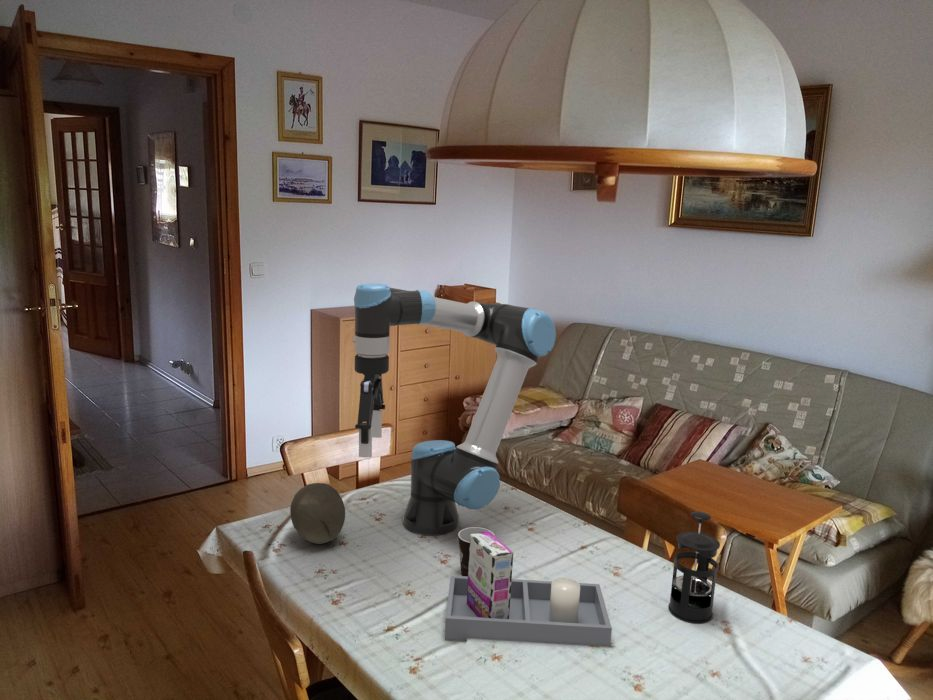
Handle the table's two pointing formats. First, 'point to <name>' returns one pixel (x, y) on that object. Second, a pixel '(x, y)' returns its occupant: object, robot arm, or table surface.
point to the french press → (694, 576)
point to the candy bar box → (489, 576)
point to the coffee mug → (467, 546)
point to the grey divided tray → (529, 616)
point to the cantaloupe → (317, 513)
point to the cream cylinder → (564, 600)
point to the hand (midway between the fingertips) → (370, 446)
